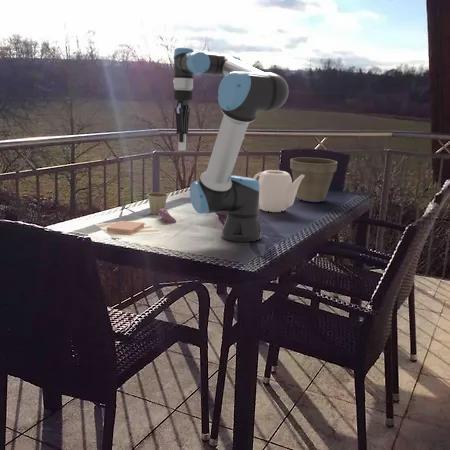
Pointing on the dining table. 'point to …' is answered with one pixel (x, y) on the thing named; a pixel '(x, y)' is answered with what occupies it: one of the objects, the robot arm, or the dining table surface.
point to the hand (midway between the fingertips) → (182, 150)
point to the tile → (125, 227)
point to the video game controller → (166, 216)
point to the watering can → (277, 190)
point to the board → (142, 231)
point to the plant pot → (313, 176)
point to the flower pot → (157, 202)
